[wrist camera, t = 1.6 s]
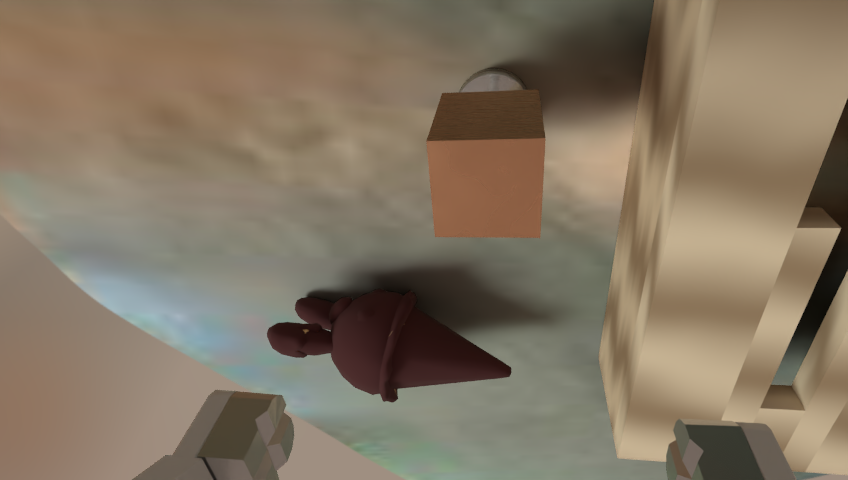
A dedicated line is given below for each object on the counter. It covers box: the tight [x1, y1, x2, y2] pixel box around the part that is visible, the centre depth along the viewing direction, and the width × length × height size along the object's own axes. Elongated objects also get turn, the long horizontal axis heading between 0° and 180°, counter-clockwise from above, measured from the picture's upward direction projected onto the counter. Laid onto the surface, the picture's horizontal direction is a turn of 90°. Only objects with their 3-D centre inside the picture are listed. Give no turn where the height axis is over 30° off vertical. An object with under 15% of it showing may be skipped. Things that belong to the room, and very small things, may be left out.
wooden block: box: [427, 68, 545, 238], centre depth 22 cm, size 4×4×9 cm
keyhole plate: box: [599, 0, 848, 475], centre depth 24 cm, size 24×14×8 cm, turn 5°
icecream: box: [267, 289, 511, 402], centre depth 32 cm, size 7×7×15 cm
